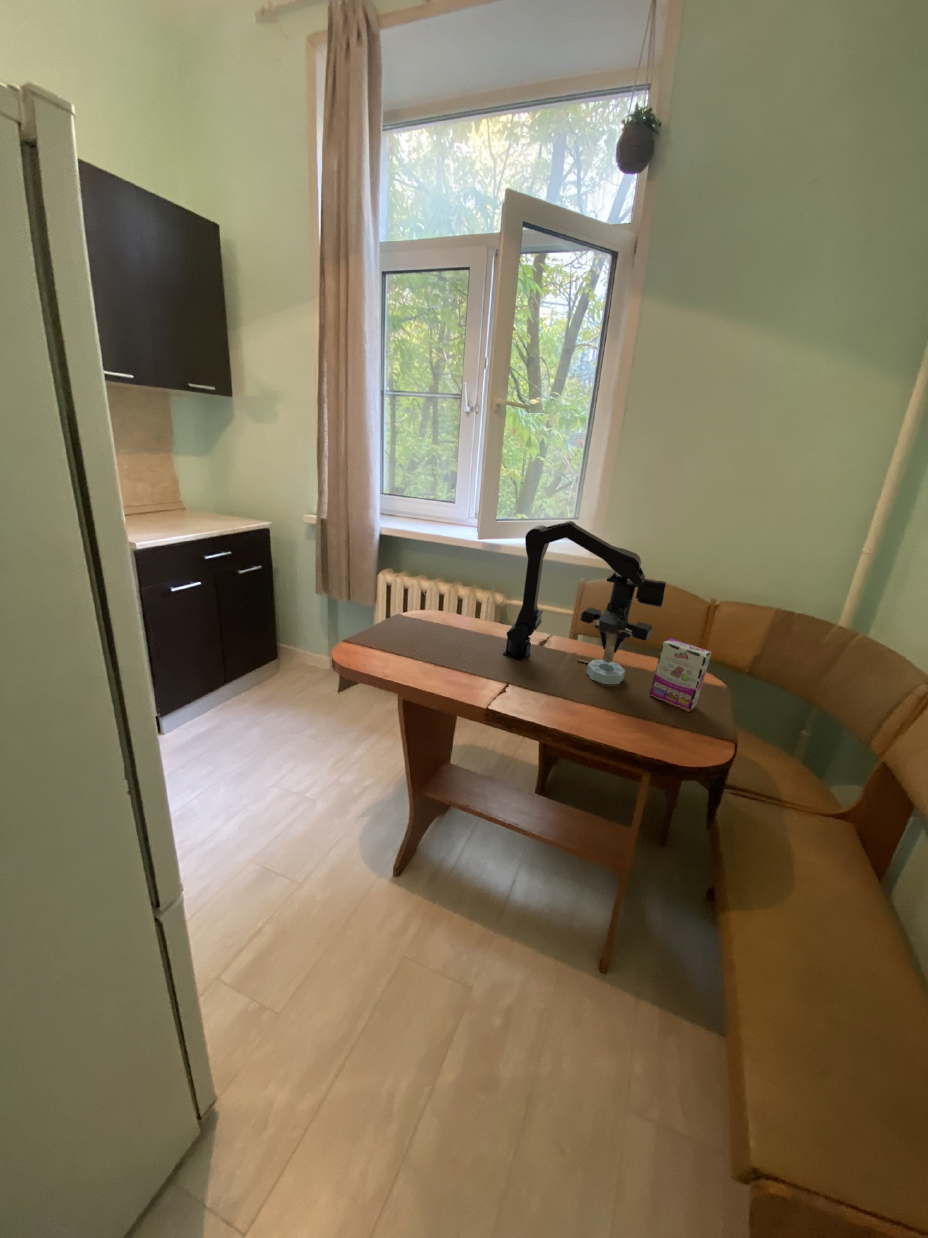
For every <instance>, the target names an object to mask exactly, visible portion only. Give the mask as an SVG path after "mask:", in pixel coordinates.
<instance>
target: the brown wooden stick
mask: <svg viewBox="0 0 928 1238" xmlns="http://www.w3.org/2000/svg"><path fill="white" fill-rule="evenodd" d="M578 661H579V662H578ZM577 662H578V663H581V662H584V663H583V664H585V663H588V664H589V663H590V662H591V661H587V660H584V659H580V658H578V659H577ZM588 664H587V665H588Z"/></svg>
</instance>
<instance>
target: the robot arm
mask: <svg viewBox="0 0 928 1238" xmlns="http://www.w3.org/2000/svg"><path fill="white" fill-rule="evenodd" d="M524 539H525V543H524V544H525V551H526V556H527V565H526V573H525V582H524V588H523V589H524V590H523V597H522V605H521V608H520V610H519V612H518V615H517V618H516V621H515V622H514V624H513V625H512V626H511V627H510V628H509V629H508V630H507V632H506V637H507V639H506V645H505V646H506V647H505V650H504V651H503V652H502V655H504V656H507V657H510V658H512V659H515V660H518V661H523V660H524V659H526V658H527V657H528V656H530V655H531V652H530V651H531V647H532V643H531V637H530V636H532V635H533V633H534V632H535V631H536V630H537V629H538V628H539V626H540V625H541V624H542V616H543V611H544V610H542V609H541V610H539V607H538V599H539V592H540V585H541V580H542V579H541V577H542V571H543V563H544V558H545V555H546V553H547V551H548V548H549V545H550V544H551V543H554V542H557V541H559V540H562V539H568V540H569V541H571V542H573V543H575V544H576V545H578V546H580V547H581V548H583V549H585V550H586V551H588V552H590V553H592V554H593V555H595V556H597V558H600V559H602V560H603V561H604V562H605V563H606V564H607V565H608V566H609V567H610V568H611V569H612V570H613V571H614V572H613V573H612V574H610V575H608V576H607V577H606V578H607V579H606V582H608V583H613V585H612V588H611V594H610V598H609V602H608V603H607V605H606V609H605V610H604V611H603V613H602V610H601V609H596V608H594V607H591V606H590V607H587V608H586V609H585V610H583V611H582V612H581V614H580V617H579V618H580V619H579V621H581V622H584V623H586V624H589V625H590V624H591V623H594V622H595V621H596V622H595V625H594V626H593V627H594V628H595V629H597V630H598V631H599V634H600V638H601V643H602V644H601V645H602V649H603V650H605V646H606V641H607V637H608V632H609V633H612V634H614V633H616V632H617V630H619V631H620V632H619V634H618V640H617V643H616V646H615V649H614V654H616V653H617V651H619V649H620V647H621V646H622V644H623V643H624V641H626V639H630V638H631V637H633V638H635V639H638V640H641V641H647V640H648V639H649V638H650V637H651V635H652V634H653V629H654V628H653V625H652V624H648V623H646V622H645V623H644V622H641V621H638V622H636V623H635V624H634V623H631V622H629V619H630V613H631V608H632V605H633V599H634V594H635V591H636V588H637V591H636V596H635V599H636V600H637V602H638V604H640V605H641V604H642V605H646V606H651V607H656V608H662V605H663V601H664V596H665V588H666V587H667V585H666V584H667V582H666V581H662V580H654V579H649V578H646V575H645V573H644V571H643V569H642V567H641V565H642V559H641V557H640V556H639V554H638V553H635V552H633V551H631V550H628V549H626V548H622V547H617V546H614V545H612V544H610V543H609V542H607V541H605V540H603V539H602V538H600V537H599V536H596V535H595V534H593V533H591V532H589V531H588V530H586V529H584V528H583V527H581V526H579V525H577V524H576V523H575V522H574V521H572V520H567V521H565V522H562V523H557V524H552V525H548V526H546V525H542V524H541V525H540V524H539V525H536V526H534V527H533V528H531V529H530V530H529V531H528V532H527V533H526V534H525V538H524Z"/></svg>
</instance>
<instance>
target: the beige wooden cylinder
mask: <svg viewBox="0 0 928 1238" xmlns="http://www.w3.org/2000/svg"><path fill="white" fill-rule="evenodd" d="M620 632H621V630H620V631H619V630H617V632H616V633H614V634H612V633H609V632H608V637H607V641H606V646H605V650H604V649H603V650H604V652H603V655H602V660H603V661H605V662H609V663H610V662H614V661H613V660H614V656H615V653H614V649H615V646H616V643H617V640H618V634H619V633H620Z"/></svg>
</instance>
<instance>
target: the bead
mask: <svg viewBox="0 0 928 1238" xmlns="http://www.w3.org/2000/svg"><path fill="white" fill-rule="evenodd" d="M589 662H590V663H589V664H587V667H586V672H585V674H586V673H587V674H588V675H589V676H590V677H589V676H588V675H587V674H586V675H587V676H588V677H589V679H590V678H591V679H592V680H596V681H599V682H601V683H604V684H619V683H620V682H621V681H622V682H623V680H624V678H625V672H626V670H625V669H624V668H623V667H622V666H621V665H620V663H617V662H614V661H613V662H610V663H609V662H605V661H603V659H592V660H591V661H589ZM591 679H590V680H591ZM592 680H591V681H592ZM620 684H621V683H620ZM620 684H619V685H620Z"/></svg>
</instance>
